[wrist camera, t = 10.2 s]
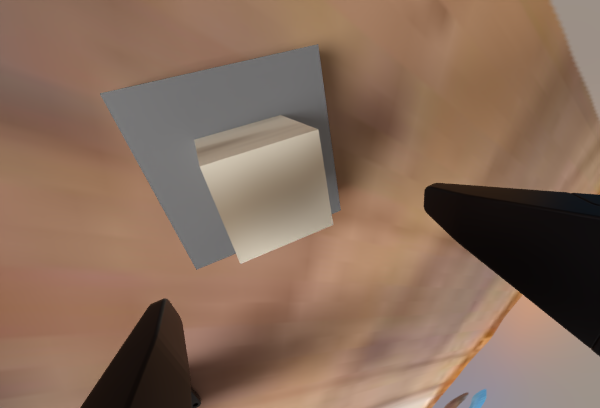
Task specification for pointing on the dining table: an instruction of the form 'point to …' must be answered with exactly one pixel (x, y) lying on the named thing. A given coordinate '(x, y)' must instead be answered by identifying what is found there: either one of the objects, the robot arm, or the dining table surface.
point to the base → (210, 120)
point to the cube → (266, 183)
